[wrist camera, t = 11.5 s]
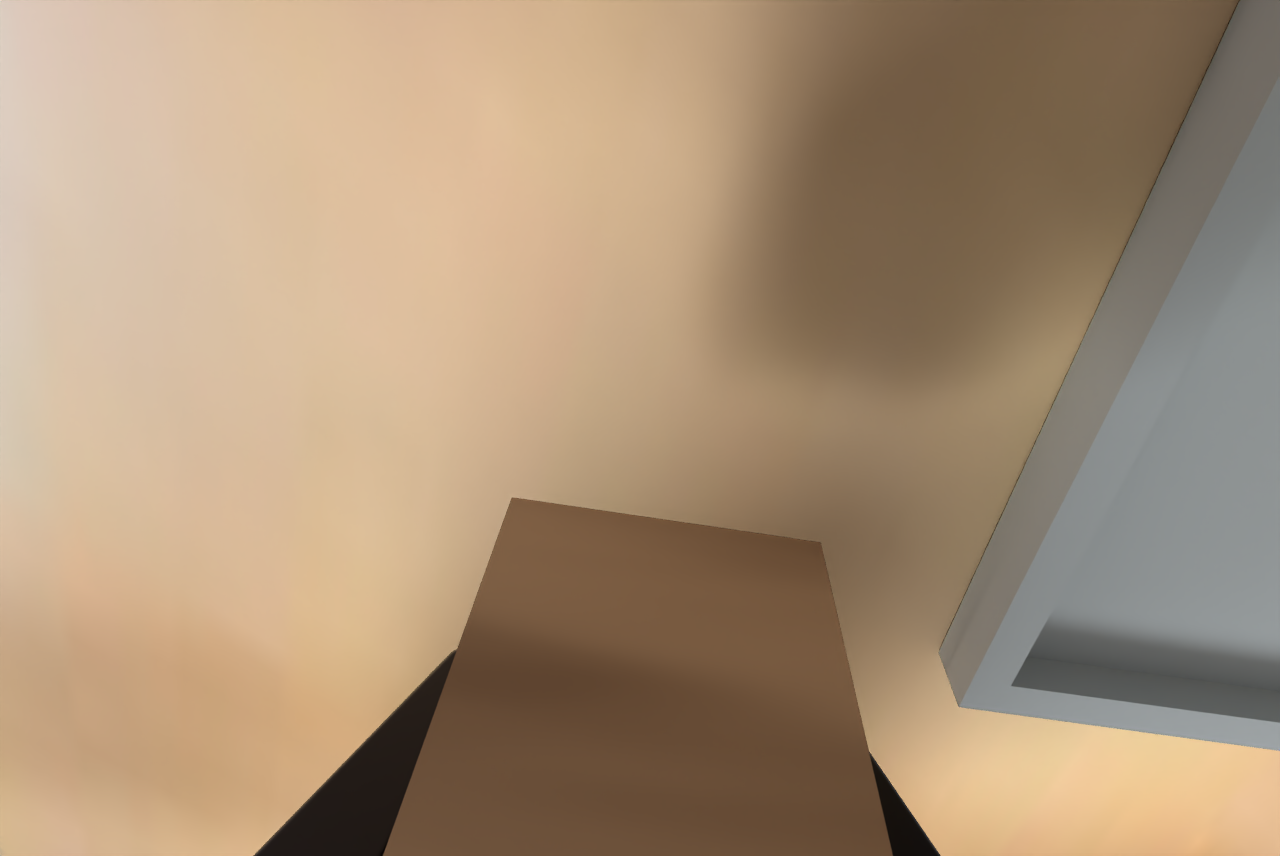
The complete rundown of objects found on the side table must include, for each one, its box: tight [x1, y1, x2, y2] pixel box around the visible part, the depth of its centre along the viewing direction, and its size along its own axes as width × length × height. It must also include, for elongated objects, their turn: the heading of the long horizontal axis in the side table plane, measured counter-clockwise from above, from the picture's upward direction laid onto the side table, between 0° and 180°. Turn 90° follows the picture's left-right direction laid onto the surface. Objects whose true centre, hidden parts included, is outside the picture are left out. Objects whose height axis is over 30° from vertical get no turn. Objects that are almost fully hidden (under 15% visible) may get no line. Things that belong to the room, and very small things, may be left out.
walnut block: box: [383, 498, 893, 856], centre depth 8 cm, size 4×4×5 cm
